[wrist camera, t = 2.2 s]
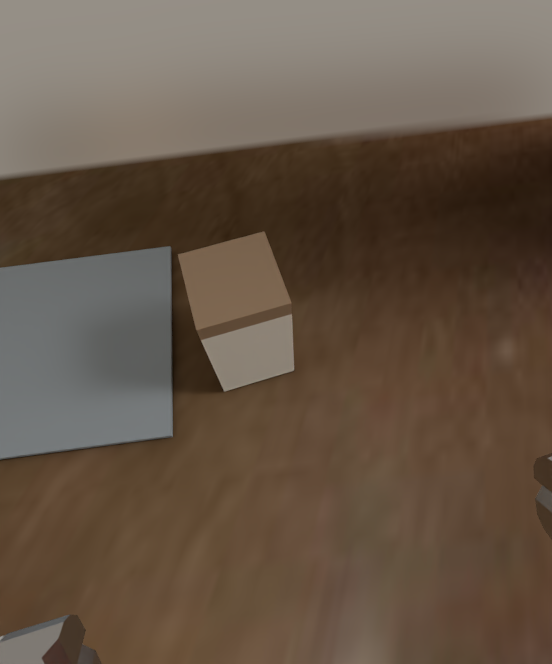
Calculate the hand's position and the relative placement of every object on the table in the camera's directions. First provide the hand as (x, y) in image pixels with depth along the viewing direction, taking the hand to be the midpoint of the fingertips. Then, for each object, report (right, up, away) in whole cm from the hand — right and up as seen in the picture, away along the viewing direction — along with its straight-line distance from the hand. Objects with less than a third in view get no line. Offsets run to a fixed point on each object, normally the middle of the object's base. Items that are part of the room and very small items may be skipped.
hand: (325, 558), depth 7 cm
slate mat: (-15, +3, +21) cm, 26 cm away
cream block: (-3, +3, +20) cm, 21 cm away
